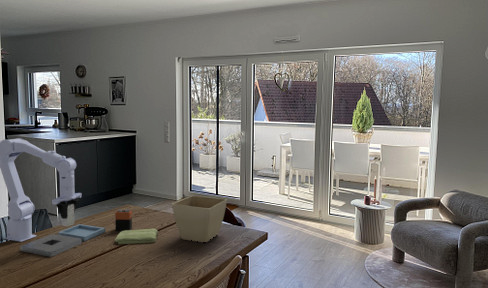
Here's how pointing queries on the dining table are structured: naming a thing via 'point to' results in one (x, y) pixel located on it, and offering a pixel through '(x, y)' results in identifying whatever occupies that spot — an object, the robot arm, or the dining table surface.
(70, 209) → the pin
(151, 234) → the washcloth
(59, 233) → the tray
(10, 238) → the robot arm
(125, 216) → the battery
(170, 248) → the dining table surface
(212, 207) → the flower pot
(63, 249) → the pin plate
